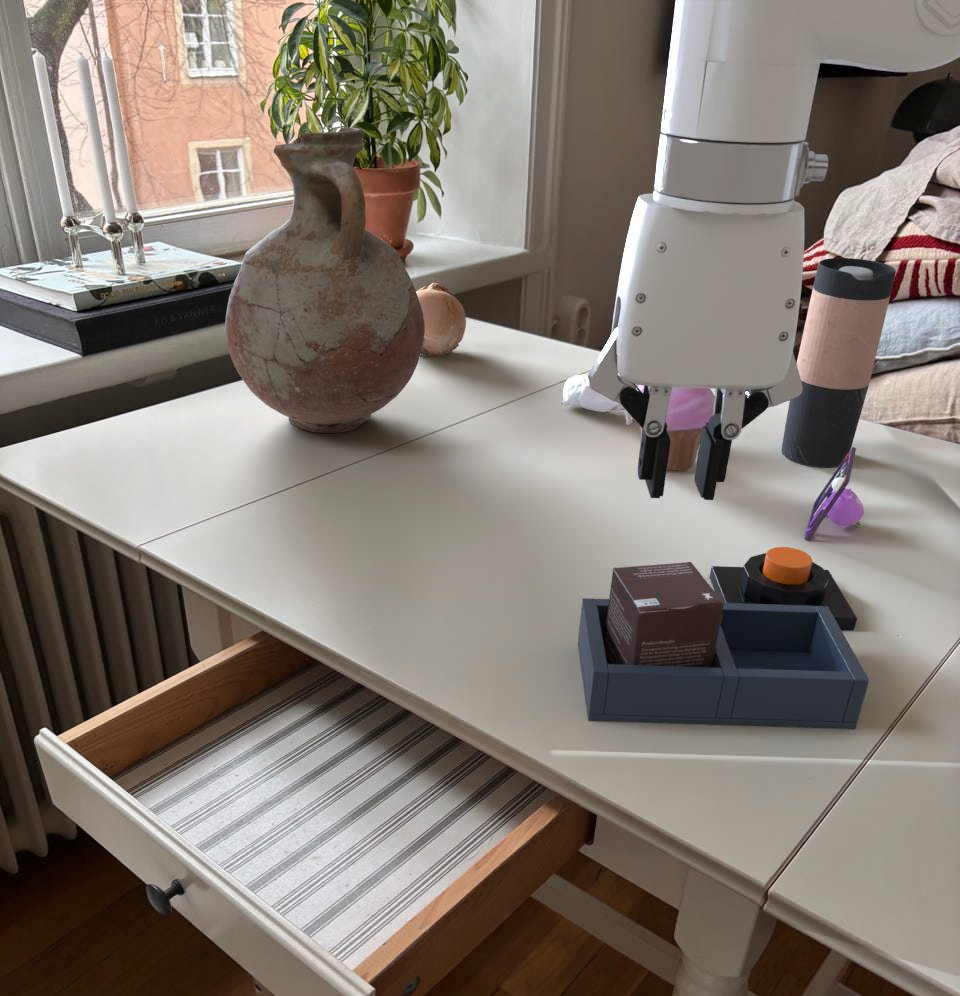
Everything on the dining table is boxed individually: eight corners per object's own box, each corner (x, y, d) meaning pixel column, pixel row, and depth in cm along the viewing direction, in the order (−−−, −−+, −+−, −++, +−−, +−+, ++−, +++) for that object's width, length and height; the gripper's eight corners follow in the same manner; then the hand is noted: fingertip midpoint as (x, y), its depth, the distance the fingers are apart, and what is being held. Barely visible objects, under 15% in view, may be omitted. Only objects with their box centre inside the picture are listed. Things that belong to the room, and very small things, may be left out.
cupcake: (716, 481, 102) (732, 386, 97) (633, 480, 102) (645, 385, 96) (696, 448, 110) (710, 359, 104) (618, 448, 109) (628, 357, 104)
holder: (816, 652, 75) (828, 605, 73) (855, 729, 67) (870, 680, 65) (577, 644, 75) (582, 597, 73) (588, 721, 67) (593, 671, 65)
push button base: (825, 581, 85) (833, 550, 83) (854, 631, 78) (863, 598, 76) (709, 578, 85) (714, 546, 83) (727, 627, 78) (734, 594, 76)
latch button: (801, 566, 81) (805, 547, 81) (813, 587, 78) (818, 568, 77) (757, 564, 81) (761, 545, 80) (768, 586, 78) (772, 566, 77)
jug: (348, 377, 127) (337, 113, 110) (465, 423, 114) (471, 132, 98) (199, 415, 114) (161, 122, 97) (312, 472, 101) (291, 146, 85)
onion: (433, 366, 141) (443, 294, 140) (474, 364, 134) (485, 289, 133) (378, 351, 135) (388, 276, 134) (418, 348, 128) (429, 269, 127)
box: (678, 647, 74) (693, 560, 70) (709, 694, 69) (727, 603, 65) (600, 654, 73) (610, 566, 69) (626, 702, 68) (639, 610, 64)
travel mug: (805, 437, 114) (845, 254, 103) (863, 458, 109) (912, 268, 98) (764, 451, 110) (801, 262, 99) (823, 474, 105) (869, 278, 94)
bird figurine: (642, 423, 120) (572, 387, 123) (657, 375, 115) (584, 339, 117) (623, 442, 117) (552, 405, 120) (637, 394, 112) (563, 356, 114)
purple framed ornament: (845, 442, 94) (837, 476, 87) (895, 468, 94) (891, 504, 87) (807, 498, 98) (796, 536, 91) (854, 524, 98) (847, 563, 91)
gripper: (854, 170, 56) (789, 471, 66) (571, 160, 56) (548, 463, 66) (900, 190, 50) (821, 520, 60) (581, 179, 50) (554, 511, 60)
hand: (678, 488), depth 63 cm, fingers closed
